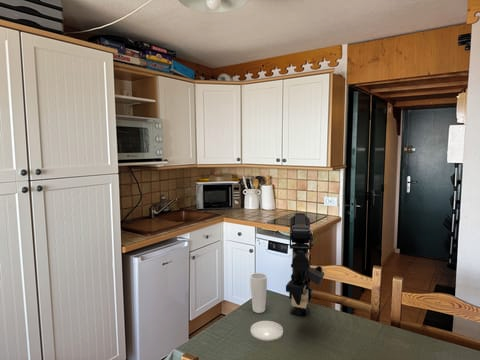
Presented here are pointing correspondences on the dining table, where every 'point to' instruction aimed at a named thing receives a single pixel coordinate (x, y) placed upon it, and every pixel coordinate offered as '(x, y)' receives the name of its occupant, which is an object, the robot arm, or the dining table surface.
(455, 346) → the dining table surface
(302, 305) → the oak block
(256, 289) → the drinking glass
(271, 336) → the plate
